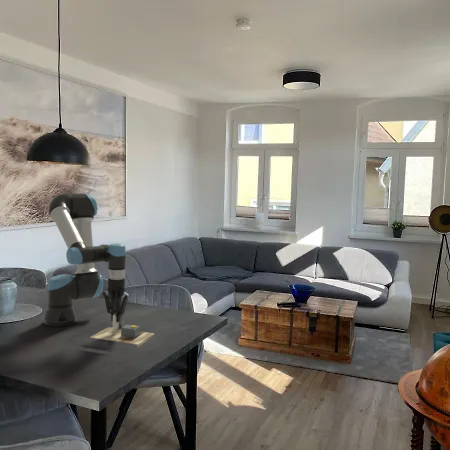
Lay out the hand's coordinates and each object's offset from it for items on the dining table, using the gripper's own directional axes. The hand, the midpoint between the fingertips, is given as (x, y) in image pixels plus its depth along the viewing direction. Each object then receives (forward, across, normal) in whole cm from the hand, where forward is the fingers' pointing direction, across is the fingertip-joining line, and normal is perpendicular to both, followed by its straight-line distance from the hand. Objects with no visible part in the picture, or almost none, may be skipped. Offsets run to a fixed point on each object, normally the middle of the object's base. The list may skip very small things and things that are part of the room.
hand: (115, 328), depth 212 cm
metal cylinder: (+4, -2, +9) cm, 10 cm away
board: (+3, +4, -1) cm, 6 cm away
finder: (+2, +8, 0) cm, 8 cm away
